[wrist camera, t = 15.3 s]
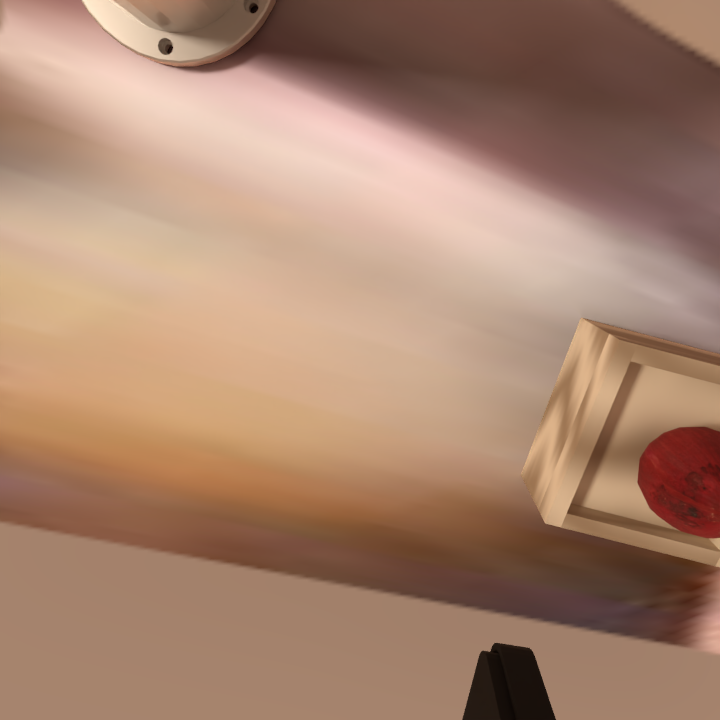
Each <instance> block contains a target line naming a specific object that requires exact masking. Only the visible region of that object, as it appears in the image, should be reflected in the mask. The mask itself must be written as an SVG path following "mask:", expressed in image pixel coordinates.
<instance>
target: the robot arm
mask: <svg viewBox="0 0 720 720" xmlns="http://www.w3.org/2000/svg"><path fill="white" fill-rule="evenodd" d="M81 1H82V3H83V4H84V6H85V8H86V9H87V11H88V12H89V14H90V15H91V16H92V17H93V18H94V19H95V21H96V22H97V23H98V24H99V25H100V26H101V27H102V29H103V30H104V31H105V32H107V33H108V34H109V35H110V36H112V37H113V38H114V39H115V40H117V41H118V42H119V43H120V44H121V45H123V46H125V47H126V48H128V49H130V50H131V51H133V52H134V53H136V54H138V55H140V56H143V57H145V58H147V59H150V60H152V61H154V62H157V63H162V64H167V65H172V66H199V65H203V64H208V63H212V62H216V61H218V60H220V59H222V58H224V57H226V56H228V55H230V54H233V53H234V52H235V51H237V50H238V49H239V48H240V47H242V46H243V45H244V44H246V43H247V42H248V41H249V40H250V39H251V38H252V37H253V36H254V35H255V34H256V32H257V31H258V30H259V29H260V28H261V27H262V25H263V24H264V22H265V21H266V19H267V17H268V15H269V14H270V12H271V10H272V8H273V7H274V5H275V2H276V0H81ZM253 6H258V11H257V12H255V13H251V8H252V7H253ZM171 46H173V50H172V52H171V53H170V54H168V48H169V47H171ZM463 720H556V719H555V716H554V713H553V710H552V707H551V704H550V701H549V698H548V695H547V692H546V689H545V686H544V683H543V680H542V677H541V674H540V671H539V668H538V665H537V662H536V659H535V656H534V654H533V652H532V650H531V649H530V648H526V647H520V646H513V645H506V644H500V643H494V645H493V646H492V649H491V651H490V652H488V651H482V652H481V653H480V656H479V659H478V663H477V666H476V670H475V674H474V678H473V682H472V685H471V689H470V693H469V697H468V701H467V705H466V708H465V712H464V716H463Z"/></svg>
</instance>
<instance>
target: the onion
mask: <svg viewBox="0 0 720 720" xmlns="http://www.w3.org/2000/svg"><path fill="white" fill-rule="evenodd" d="M637 483H638V485H639V487H640V489H641V491H642V494H643V496H644V498H645V500H646V502H647V504H648V506H649V508H650V509H651V510H652V511H653V512H654V513H655V514H656V515H657V516H658V517H660V518H661V519H663V520H664V521H665V522H667V523H668V524H669V525H671V526H672V527H674V528H676V529H678V530H679V531H681V532H685V533H688V534H692V535H696V536H699V537H703V538H712V539H714V538H720V432H719V431H716V430H713V429H710V428H708V427H705V426H703V427H679V428H676V429H673V430H670V431H667V432H664V433H663V434H661V435H660V436H659V437H657V438H656V439H655V440H653V441H652V442H651V443H649V445H648V446H647V448H646V449H645V451H644V452H643V454H642V455H641V457H640V461H639V470H638V481H637Z"/></svg>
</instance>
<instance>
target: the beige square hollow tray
mask: <svg viewBox="0 0 720 720" xmlns="http://www.w3.org/2000/svg"><path fill="white" fill-rule="evenodd" d="M703 426H705V427H708V428H710V429H713V430H716V431H719V432H720V354H717V353H713V352H710V351H706V350H702V349H698V348H694V347H690V346H687V345H683V344H679V343H675V342H671V341H668V340H664V339H660V338H656V337H652V336H649V335H645V334H641V333H637V332H633V331H630V330H626V329H622V328H618V327H614V326H611V325H607V324H603V323H599V322H595V321H592V320H588V319H584V318H581V319H580V322H579V324H578V327H577V329H576V332H575V335H574V337H573V340H572V343H571V345H570V348H569V350H568V353H567V356H566V358H565V361H564V363H563V366H562V369H561V371H560V374H559V377H558V379H557V382H556V384H555V387H554V390H553V392H552V395H551V398H550V400H549V403H548V405H547V408H546V411H545V413H544V416H543V418H542V421H541V424H540V426H539V429H538V432H537V434H536V437H535V439H534V442H533V445H532V447H531V450H530V452H529V455H528V458H527V460H526V463H525V466H524V468H523V471H522V473H521V476H522V478H523V480H524V482H525V484H526V486H527V488H528V490H529V492H530V494H531V496H532V498H533V500H534V502H535V504H536V506H537V508H538V510H539V512H540V514H541V516H542V518H543V520H544V522H545V523H546V524H550V525H554V526H558V527H562V528H566V529H570V530H574V531H578V532H582V533H586V534H590V535H594V536H598V537H602V538H606V539H610V540H614V541H617V542H621V543H625V544H629V545H633V546H637V547H641V548H645V549H649V550H653V551H657V552H661V553H665V554H669V555H673V556H677V557H681V558H685V559H689V560H693V561H697V562H701V563H705V564H709V565H713V566H717V567H720V538H714V539H712V538H703V537H699V536H696V535H692V534H688V533H685V532H681V531H679V530H678V529H676V528H674V527H672V526H671V525H669V524H668V523H667V522H665V521H664V520H663V519H661V518H660V517H658V516H657V515H656V514H655V513H654V512H653V511H652V510H651V509H650V508H649V506H648V504H647V502H646V500H645V498H644V496H643V494H642V491H641V489H640V487H639V485H638V483H637V481H638V470H639V461H640V457H641V455H642V454H643V452H644V451H645V449H646V448H647V446H648V445H649V443H651V442H652V441H653V440H655V439H656V438H657V437H659V436H660V435H661V434H663V433H664V432H667V431H670V430H673V429H676V428H679V427H703Z"/></svg>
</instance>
